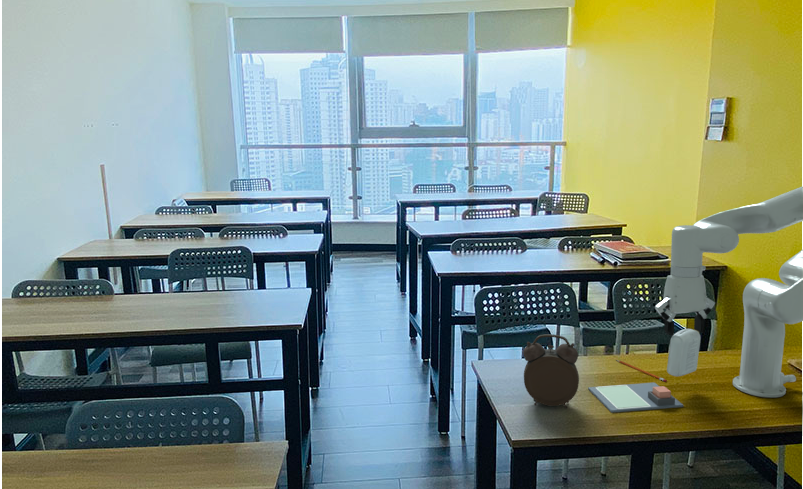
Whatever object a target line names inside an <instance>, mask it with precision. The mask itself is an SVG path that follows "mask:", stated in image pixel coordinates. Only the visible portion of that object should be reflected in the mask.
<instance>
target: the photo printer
mask: <svg viewBox="0 0 803 489" xmlns="http://www.w3.org/2000/svg"><path fill="white" fill-rule="evenodd" d="M700 346H701V334H700V332H699V331H697V330H695V329H692V328H685V329H681V330H678V331H677V332H675V333H674V335H673V336H671V338H670V341H669V349H668V358H667V366H666V372H667V373H668V374H669V375H671V376H673V377H682V376H685V375H688V374H691V373H693V372H696V371H697V368H698V363H699V362H698V360H699V353H700Z"/></svg>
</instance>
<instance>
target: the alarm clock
mask: <svg viewBox="0 0 803 489" xmlns="http://www.w3.org/2000/svg"><path fill="white" fill-rule="evenodd" d="M541 338H555V339H557V338H558V339H561V340H563V341H564V342H565V343H562V344H559V346H558V347H556V349H554V348H555V347H554V345H551V344H550V345H547V349H546V348H544V347H543V346H542V345H541V344H540V343H539V342H537V341H538V340H539V339H541ZM578 357H579V353H578V349H577V348H575V343H574V342H571V343H570V342H569V340H568V339H567V337H565V336H563V335H559V334H551V333H550V334H549V333H547V334H546V333H544V334H540V335H538V336H537V337H536V338H534V340H533V342H532V343H531V342H530V341H526V346H525V347H524V349H523V358H524V360H525V361H526V364H525V367H524V370H523V383H524V387H525V390H526V391H527V393H528V394H529V396H530V397H531V398H532V399H533V401H535V402H534V403H533V405H534V406H537V404H538V403H539V404H542V405H544V406H549V407H556V406H561V405H562V406H564V409H568V406H567V405H566V404H568V403H569V402H570V401H571V400H573V398H574V397H575V395H576V394H577V392H578V390H579V383H580V373H579V371H578V368H577V365H576V363H577V361H578Z"/></svg>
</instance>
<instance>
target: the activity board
mask: <svg viewBox="0 0 803 489" xmlns="http://www.w3.org/2000/svg"><path fill="white" fill-rule="evenodd" d="M653 387H660V385H658V384H657V383H656V382H644V383H643V382H642V383H631V384H616V385H604V386H589V387H588V388H587V389H588V391H589V392H590V393H591V394H592V395H593V396H594V398H596V399H598V401H599V402H600V403H601V404H602V405H603V406H604V407H605V408H606V409H607V410H608V411H609V412H610V413H621V412H636V411H646V410H647V411H648V410H649V411H650V410H660V409H672V408H673V409H675V408H684V404H683V403H681V402H680V401H679V400H678V399H677V398H676V397H674V396H673V395H672V394H671V397H670V398H658V397H656V396H655V395H654V394H653Z"/></svg>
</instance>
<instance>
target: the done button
mask: <svg viewBox="0 0 803 489" xmlns="http://www.w3.org/2000/svg"><path fill="white" fill-rule="evenodd" d="M659 386H660V385H659ZM671 393H672V391H671V390H669V389H668V387H666V386H664V385H663V386H662V385H661V386H660V387H653V394H654V395H655V396H656V397H658V398H670V397H671V395H672V394H671Z"/></svg>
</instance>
